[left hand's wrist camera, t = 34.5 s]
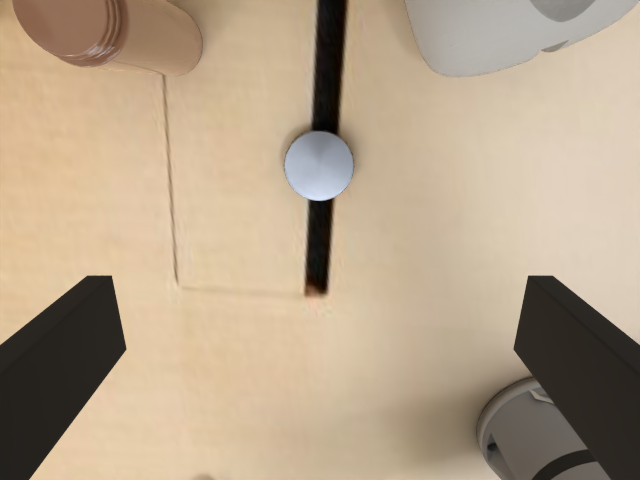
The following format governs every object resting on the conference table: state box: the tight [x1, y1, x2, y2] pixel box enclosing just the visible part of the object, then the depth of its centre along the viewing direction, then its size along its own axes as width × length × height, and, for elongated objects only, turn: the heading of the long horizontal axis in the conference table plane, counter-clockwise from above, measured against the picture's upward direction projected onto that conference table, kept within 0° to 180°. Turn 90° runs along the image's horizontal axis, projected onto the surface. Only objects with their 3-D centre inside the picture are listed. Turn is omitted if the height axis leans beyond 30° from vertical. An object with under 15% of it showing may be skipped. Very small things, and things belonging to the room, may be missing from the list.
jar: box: [12, 0, 202, 76], centre depth 27 cm, size 5×5×16 cm
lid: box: [284, 129, 354, 201], centre depth 37 cm, size 6×6×2 cm
